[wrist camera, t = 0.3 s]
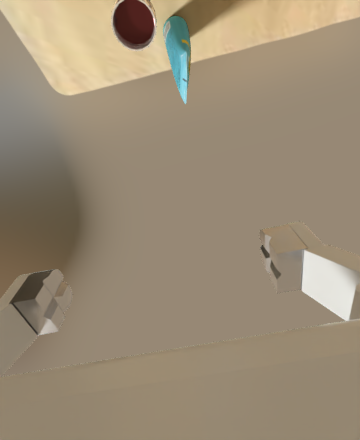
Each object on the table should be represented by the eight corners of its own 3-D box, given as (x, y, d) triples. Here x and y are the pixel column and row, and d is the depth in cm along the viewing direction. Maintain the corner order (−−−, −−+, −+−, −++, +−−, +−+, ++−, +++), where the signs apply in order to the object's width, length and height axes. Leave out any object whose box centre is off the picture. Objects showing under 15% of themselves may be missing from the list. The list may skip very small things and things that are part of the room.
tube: (189, 50, 50) (201, 102, 40) (165, 53, 51) (171, 106, 40) (186, 4, 44) (200, 51, 34) (160, 7, 44) (165, 55, 34)
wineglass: (109, 4, 43) (102, 31, 37) (127, -40, 39) (124, -18, 33) (142, 31, 47) (142, 60, 41) (162, -6, 43) (165, 20, 36)
